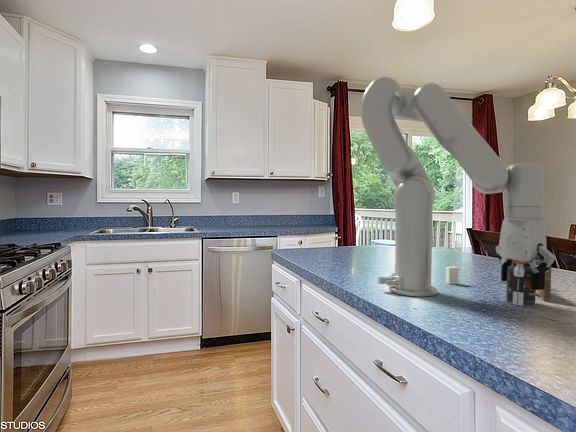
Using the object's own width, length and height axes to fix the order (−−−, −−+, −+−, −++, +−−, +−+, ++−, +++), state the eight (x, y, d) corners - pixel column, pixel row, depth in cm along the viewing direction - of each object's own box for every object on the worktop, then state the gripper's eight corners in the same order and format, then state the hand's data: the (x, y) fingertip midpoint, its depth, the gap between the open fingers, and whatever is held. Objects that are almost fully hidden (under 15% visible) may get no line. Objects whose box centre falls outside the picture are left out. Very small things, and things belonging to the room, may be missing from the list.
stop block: (449, 284, 106) (449, 267, 106) (445, 282, 108) (445, 266, 108) (458, 284, 107) (458, 267, 107) (454, 282, 109) (454, 266, 109)
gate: (514, 283, 106) (515, 257, 105) (520, 284, 105) (520, 257, 105) (543, 299, 88) (544, 267, 88) (550, 299, 88) (551, 267, 88)
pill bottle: (526, 308, 82) (527, 260, 82) (500, 301, 87) (502, 256, 87) (540, 305, 85) (542, 258, 84) (515, 299, 90) (516, 255, 90)
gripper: (485, 213, 93) (483, 277, 94) (539, 215, 76) (537, 294, 77) (510, 213, 94) (509, 277, 95) (570, 215, 77) (567, 293, 77)
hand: (521, 284), depth 86 cm, fingers open, 8 cm apart
